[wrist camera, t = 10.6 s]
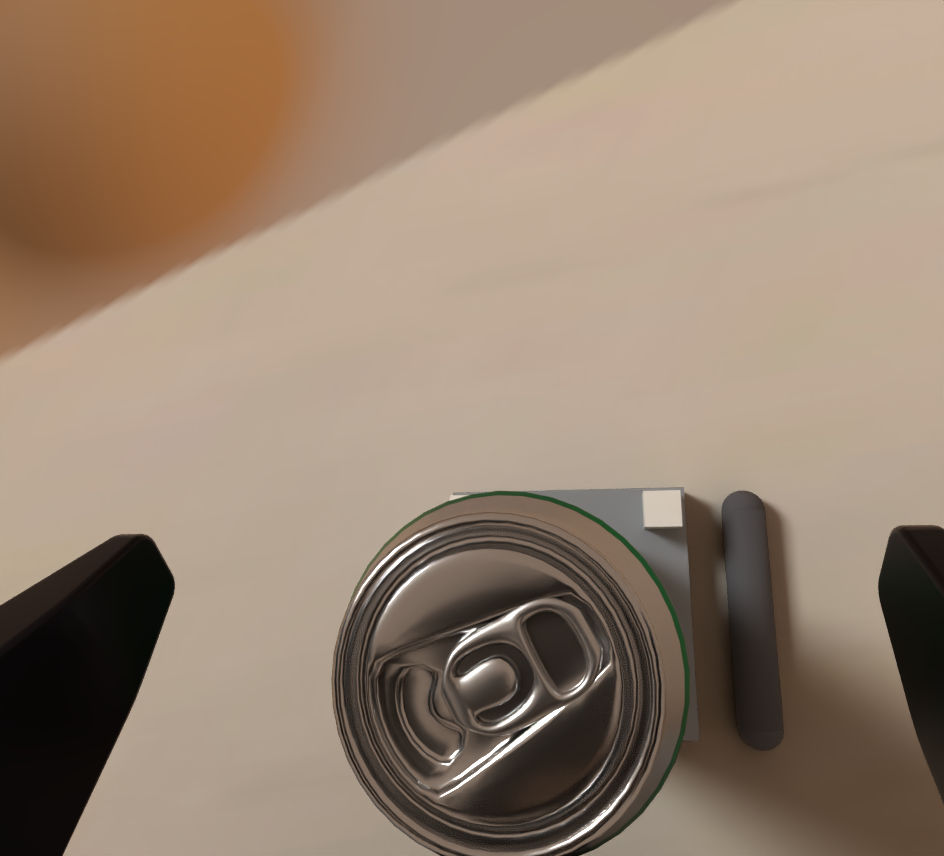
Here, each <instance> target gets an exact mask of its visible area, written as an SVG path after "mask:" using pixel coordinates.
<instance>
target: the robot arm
mask: <svg viewBox="0 0 944 856" xmlns="http://www.w3.org/2000/svg"><path fill="white" fill-rule="evenodd" d="M174 590H175V581H174V577H173V575H172V573H171V571H170V569H169V567H168V565H167V564H166V562H165V560H164V558H163V556H162V554H161V553H160V551H159V549H158V547H157V545H156V544H155V542H154V541H153V539H152V538H150V537H149V536H148V535H144V534H121V535H117V536H114V537H112V538H110V539H109V540H107V541H105V542H104V543H102V544H100V545H99V546H97V547H96V548H94V549H92V550H91V551H89V552H87V553H86V554H84V555H82V556H81V557H79V558H77V559H76V560H74V561H73V562H71V563H69V564H68V565H66V566H64V567H63V568H61V569H59V570H58V571H56V572H54V573H53V574H51V575H50V576H48V577H46V578H45V579H43V580H41V581H40V582H38V583H36V584H35V585H33V586H31V587H30V588H28V589H27V590H25V591H23V592H22V593H20V594H18V595H17V596H15V597H13V598H12V599H10V600H8V601H7V602H5V603H4V604H2V605H0V856H63V854H64V851H65V849H66V847H67V845H68V843H69V841H70V839H71V837H72V834H73V832H74V830H75V828H76V826H77V824H78V822H79V820H80V817H81V815H82V813H83V811H84V809H85V807H86V805H87V803H88V800H89V798H90V796H91V794H92V792H93V790H94V788H95V786H96V783H97V781H98V779H99V777H100V775H101V773H102V771H103V769H104V766H105V764H106V762H107V760H108V758H109V756H110V754H111V752H112V749H113V747H114V745H115V743H116V741H117V739H118V737H119V735H120V732H121V730H122V728H123V726H124V724H125V722H126V720H127V718H128V715H129V713H130V711H131V709H132V706H133V704H134V702H135V700H136V697H137V694H138V692H139V689H140V687H141V684H142V681H143V679H144V676H145V673H146V670H147V667H148V665H149V662H150V659H151V656H152V654H153V651H154V648H155V645H156V643H157V640H158V637H159V634H160V631H161V629H162V626H163V623H164V620H165V618H166V615H167V612H168V609H169V606H170V604H171V601H172V598H173V595H174ZM878 591H879V599H880V603H881V607H882V611H883V615H884V618H885V622H886V626H887V629H888V633H889V637H890V640H891V644H892V648H893V651H894V655H895V659H896V662H897V666H898V670H899V673H900V677H901V681H902V685H903V688H904V692H905V696H906V699H907V703H908V707H909V710H910V714H911V717H912V721H913V724H914V727H915V731H916V734H917V737H918V740H919V743H920V745H921V748H922V751H923V753H924V756H925V759H926V761H927V764H928V766H929V769H930V771H931V774H932V776H933V779H934V781H935V784H936V786H937V789H938V791H939V794H940V796H941V799H942V801H943V804H944V529H943V528H941V527H939V526H934V525H902V526H898V527H896V528H894V529H893V530H892V532H891V534H890V536H889V540H888V544H887V548H886V552H885V556H884V560H883V564H882V568H881V572H880V576H879V583H878Z"/></svg>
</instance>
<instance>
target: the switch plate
mask: <svg viewBox="0 0 944 856" xmlns="http://www.w3.org/2000/svg"><path fill="white" fill-rule="evenodd" d="M516 492H529V493H534V494H539V495H544V496H549V497H553V498H556V499H558V500H561V501H564V502H567V503H569V504H572V505H575V506H577V507H579V508H581V509H583V510H585V511H586V512H588V513H590V514H592V515H594V516H596V517H597V518H599V519H601V520H602V521H604V522H605V523H606V524H608V525H609V526H610V527H612V528H613V529H614V530H615V531H617V532H618V533H619V534H621V535H622V536H623V537H624V538H625V539H626V540H627V541H628V542H629V543H630V544H631V545H632V546H633V547H634V548H635V549H636V550H637V551H638V552H639V553H640V554H641V555H642V556H643V557H644V559H645V560H646V561H647V563H648V564H649V566H650V567H651V568H652V570H653V571H654V573H655V574H656V576H657V577H658V578H659V580H660V581H661V583H662V585H663V587H664V589H665V591H666V593H667V595H668V597H669V599H670V601H671V603H672V605H673V607H674V609H675V611H676V614H677V617H678V620H679V623H680V626H681V630H682V633H683V636H684V639H685V644H686V650H687V657H688V663H689V669H690V704H689V710H688V716H687V723H686V729H685V734H684V737H683V740H682V741H700V739H699V723H698V707H697V691H696V675H695V659H694V643H693V627H692V611H691V595H690V579H689V563H688V547H687V531H686V516H685V500H684V487H672V488H631V489H590V490H549V491H516ZM478 493H486V492H467V493H453V495H450V501H451V500H454V499H458V498H461V497H464V496H468V495H471V494H478Z"/></svg>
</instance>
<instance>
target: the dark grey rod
mask: <svg viewBox="0 0 944 856" xmlns="http://www.w3.org/2000/svg"><path fill="white" fill-rule="evenodd" d="M722 525H723V538H724V552H725V566H726V579H727V593H728V607H729V620H730V634H731V648H732V662H733V675H734V689H735V703H736V716H737V727H738V731H739V734H740V736H741V738H742V739H743V740H744V741H745V743H747V744H748V745H749V746H751V747H752V748H754V749H757V750H762V751H766V750H771V749H773V748H775V747H776V746H778V745H779V743H780V742H781V740H782V738H783V734H784V727H783V715H782V704H781V692H780V680H779V668H778V657H777V645H776V633H775V622H774V610H773V598H772V587H771V575H770V563H769V552H768V540H767V528H766V516H765V508H764V505H763V502H762V501H761V499H760V498H759V497H758V496H756V495H755V494H753V493H751V492H748V491H737V492H733V493H732V494H730V495H729V496H727V497H726V499H725V500H724V502H723V504H722Z"/></svg>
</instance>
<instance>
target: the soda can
mask: <svg viewBox="0 0 944 856" xmlns="http://www.w3.org/2000/svg"><path fill="white" fill-rule="evenodd" d="M332 698H333V709H334V714H335V720H336V725H337V730H338V734H339V737H340V740H341V743H342V746H343V749H344V752H345V755H346V757H347V760H348V762H349V764H350V766H351V768H352V770H353V772H354V774H355V776H356V777H357V779H358V781H359V783H360V785H361V786H362V788H363V789H364V790H365V792H366V793H367V795H368V796H369V797H370V799H371V800H372V802H373V803H374V805H375V806H376V807H377V808H378V809H379V810H380V811H381V812H382V813H383V814H384V815H385V816H386V817H387V818H388V819H389V821H390V822H391V823H392V824H393V825H394V826H395V827H397V828H398V829H399V830H401V831H402V832H403V833H405V834H406V835H407V836H409V837H410V838H411V839H412V840H414V841H415V842H416V843H418V844H420V845H422V846H424V847H426V848H427V849H429V850H431V851H433V852H435V853H437V854H439V855H440V856H579V855H582V854H584V853H587V852H590V851H592V850H595V849H596V848H598V847H600V846H601V845H603V844H604V843H606V842H608V841H609V840H611V839H612V838H614V837H616V836H617V835H619V834H620V833H621V832H622V831H624V830H625V829H626V828H627V827H628V826H629V825H630V824H631V823H632V822H633V821H635V820H636V819H637V818H638V817H639V816H640V815H641V814H642V813H643V812H644V811H645V809H646V808H647V807H648V805H649V804H650V803H651V802H652V800H653V799H654V798H655V796H656V795H657V794H658V793H659V791H660V790H661V788H662V786H663V784H664V783H665V781H666V779H667V777H668V775H669V773H670V771H671V769H672V767H673V766H674V764H675V761H676V758H677V755H678V752H679V749H680V746H681V743H682V740H683V737H684V734H685V729H686V723H687V716H688V710H689V704H690V669H689V663H688V657H687V650H686V644H685V639H684V636H683V633H682V630H681V626H680V623H679V620H678V617H677V614H676V611H675V609H674V607H673V605H672V603H671V601H670V599H669V597H668V595H667V593H666V591H665V589H664V587H663V585H662V583H661V581H660V580H659V578H658V577H657V576H656V574H655V573H654V571H653V570H652V568H651V567H650V566H649V564H648V563H647V561H646V560H645V559H644V557H643V556H642V555H641V554H640V553H639V552H638V551H637V550H636V549H635V548H634V547H633V546H632V545H631V544H630V543H629V542H628V541H627V540H626V539H625V538H624V537H623V536H622V535H621V534H619V533H618V532H617V531H615V530H614V529H613V528H612V527H610V526H609V525H608V524H606V523H605V522H604V521H602V520H601V519H599V518H597V517H596V516H594V515H592V514H590V513H588V512H586V511H585V510H583V509H581V508H579V507H577V506H575V505H572V504H569V503H567V502H564V501H561V500H558V499H556V498H553V497H549V496H544V495H539V494H534V493H529V492H516V491H494V492H486V493H478V494H471V495H468V496H464V497H461V498H458V499H454V500H451V501H447V502H445V503H443V504H441V505H439V506H437V507H435V508H433V509H431V510H428V511H426V512H424V513H423V514H421V515H420V516H418V517H417V518H415V519H414V520H413V521H411V522H410V523H408V524H407V525H405V526H404V527H403V528H401V529H400V530H399V531H398V532H397V533H396V534H395V535H394V536H393V537H392V538H391V539H390V540H389V541H388V542H387V543H385V544H384V546H383V547H382V548H381V549H380V551H379V552H378V553H377V555H376V556H375V557H374V558H373V560H372V561H371V562H370V563H369V565H368V566H367V568H366V570H365V572H364V573H363V575H362V577H361V579H360V580H359V582H358V584H357V586H356V587H355V590H354V592H353V595H352V597H351V600H350V603H349V605H348V608H347V610H346V613H345V616H344V618H343V621H342V624H341V626H340V629H339V633H338V638H337V642H336V646H335V651H334V658H333V669H332Z"/></svg>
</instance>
